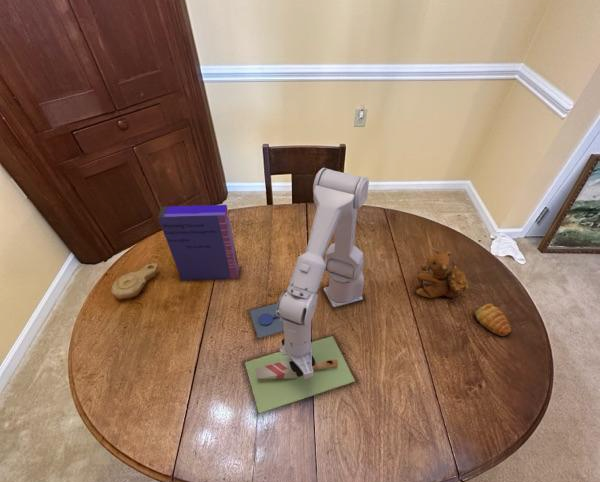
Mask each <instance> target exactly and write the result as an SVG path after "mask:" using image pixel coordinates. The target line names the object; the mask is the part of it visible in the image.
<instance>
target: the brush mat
mask: <svg viewBox="0 0 600 482" xmlns="http://www.w3.org/2000/svg"><path fill="white" fill-rule="evenodd" d="M311 345H312V356H313V357H314V359H315V362H320V361H327V360H334V359H337V361H338V367H333V368H325V369H317V370H313V376H312V377H309V378H306V379H304V376H300V377H298V376H297V378H281V379H256V370H255V369H256V368H260V367H264V366H267V365H271V364H275V363H279V362H283V361H287V360H291V359H290V357H289V356H288V355H284V356H283V355H282V354H281V351H278V352H274V353H271V354H267V355H264V356H261V357H257V358H254V359H251V360H248V361H245V362H244V365H245V368H246V372H247V375H248V380H249V384H250V387H251V390H252V394H253V398H254V401H255V405H256V409H257V412H258V415H260V414H263V413H265V412H269V411H272V410H275V409H278V408H280V407H284V406H287V405H289V404H293V403H296V402H299V401H302V400H305V399H307V398H310V397H314V396H317V395H320V394H323V393H326V392H329V391H332V390H335V389H338V388H341V387H343V386H346V385H349V384H352V383H355V382H356V380H355V378H354V376H353V374H352V372H351V370H350V368H349V365H348V364H347V362H346V360H345V358H344V355H343V354H342V351H341V350H340V348H339V346H338V343H337V342H336V340H335V338H334V336H333V335H331V336H327V337H324V338H320V339H317V340H315V341H311ZM327 364H328V365H331V364H330V363H327Z"/></svg>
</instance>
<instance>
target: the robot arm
mask: <svg viewBox="0 0 600 482" xmlns="http://www.w3.org/2000/svg"><path fill="white" fill-rule="evenodd" d="M369 184H370V181H369V177H367V176H359V175H355V174H351V173H346V172H341V171H337V170H333V169H330V168H327V167H322V168H321V169H319V171H318V172H317V173H316V174H315V178H314V180H313V185H312V193H313V196H312V197H313V203H314V205H315V207H316V210H315V214H314V218H313V222H312V225H311V230H310V234H309V238H308V242H307V246H306V250H305V252H303V253H302V254H300V255H299V256H297V259H296V262H295V265H294V268H293V271H292V274H291V277H290V280H289V282H288V286H287V289H286V290H283V292H282V293H281V294H280V297H279V298H278V300H277V303H278V304H277V311H276V315H277V316H278V317H280V321H282V322H283V327H284V331H283V337H284V338H283V339H282V340H281V345H282V346H280V347H279V352H281V354H282V355H283V356H284V355H288V356H289V357H290V359H291V360H292V361H290V362H289V364H290V366H291V369H292V371H293V372H296V374H297V376H298V377H300V376H304V379H306V378H309V377H312V376H313V369H312V366H314V365H315V359H314V357H313V356H312V345H311V342H312V319H313V317H314V315H315V312H316V310H317V309H316V308H317V303H318V298H319V294H318V291H319V289H320V285H321V282H322V280H323V276H324V273H325V272H327V276H329V281H328V286H324V287H323V291H324V293H325V295H326V296H327V298H328V300H329V302H330V304H331V306H332V308H338V307H341V306H344V305H348V304H352V303H356V302H359V301H362V300H363V299H364V297H363V293H364V286H365V277H364V273H363V270H364V266H365V257H364V252H363V251H362V250H360V249H359V248H358V247H357V246H356V245H355V237H356V227H357V218H358V217H357V216H358V210H359V209H360V208H362V207H363V205H364V204H365V203H366V202H367V199H368V193H369V186H370V185H369ZM333 236H334V243H331V244H330V242H331V240H332V238H333ZM329 244H330V245H329ZM328 246H329V247H328ZM324 255H325V257H324Z"/></svg>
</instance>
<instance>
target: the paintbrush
mask: <svg viewBox="0 0 600 482" xmlns="http://www.w3.org/2000/svg"><path fill="white" fill-rule="evenodd" d="M290 361H292V360H287V361H283V362H279V363H275V364H271V365H267V366H264V367H260V368H256V369H255V370H256V379H281V378H297V374H296V372H293V371H292V369H291V366H290V364H289V362H290ZM327 363H330V364H331V365H328V364H327ZM333 367H338V361H337V359H334V360H327V361H320V362H315V365H314V366H312V369H313V370H317V369H325V368H333Z"/></svg>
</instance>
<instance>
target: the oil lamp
mask: <svg viewBox="0 0 600 482" xmlns="http://www.w3.org/2000/svg"><path fill="white" fill-rule="evenodd" d="M158 269H159V265H158V264H157V263H149V264H147V263H146V264H144V265H143V267H142V268H140V270H137V271H129V272H128V273H126V274H122V275H121V276H119V277H118V278H117V279H115V281H114V282H113V284H112V286H111V293H112V295H113V296H114V297H115V298H116V299H117V300H119V299H120V300H123V299H131V298H135V297H137V296H138V295H139V294H140V293H141V291H142V289H143V288H144V286H146V284H147V281H149V280H150V279H153V278H154V277H155V276H156V274H157V272H158Z"/></svg>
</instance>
